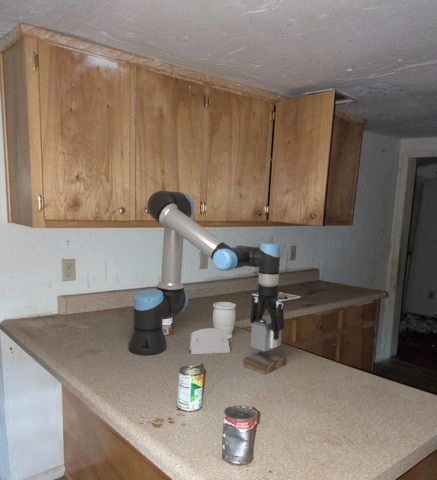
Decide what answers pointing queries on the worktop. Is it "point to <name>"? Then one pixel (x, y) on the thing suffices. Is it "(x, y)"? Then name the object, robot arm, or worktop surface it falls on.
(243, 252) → the robot arm
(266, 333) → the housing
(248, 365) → the stand
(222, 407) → the worktop surface
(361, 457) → the worktop surface
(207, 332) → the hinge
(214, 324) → the jar
